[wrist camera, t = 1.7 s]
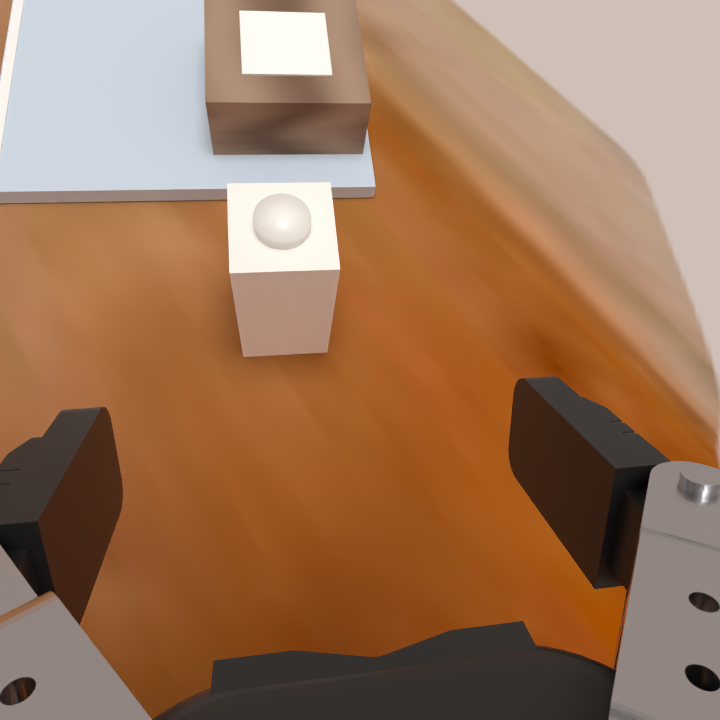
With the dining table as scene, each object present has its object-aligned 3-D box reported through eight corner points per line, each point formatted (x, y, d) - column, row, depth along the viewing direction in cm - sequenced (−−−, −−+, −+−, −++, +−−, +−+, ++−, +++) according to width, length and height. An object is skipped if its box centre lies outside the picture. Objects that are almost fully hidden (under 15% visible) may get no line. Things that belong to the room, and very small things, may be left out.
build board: (-11, 203, 34) (-58, 137, 29) (26, -34, 42) (-7, -116, 37) (373, 197, 37) (385, 137, 32) (342, -22, 45) (348, -96, 40)
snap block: (243, 356, 32) (228, 265, 24) (240, 283, 34) (225, 174, 25) (327, 352, 33) (341, 261, 24) (320, 280, 34) (331, 173, 26)
